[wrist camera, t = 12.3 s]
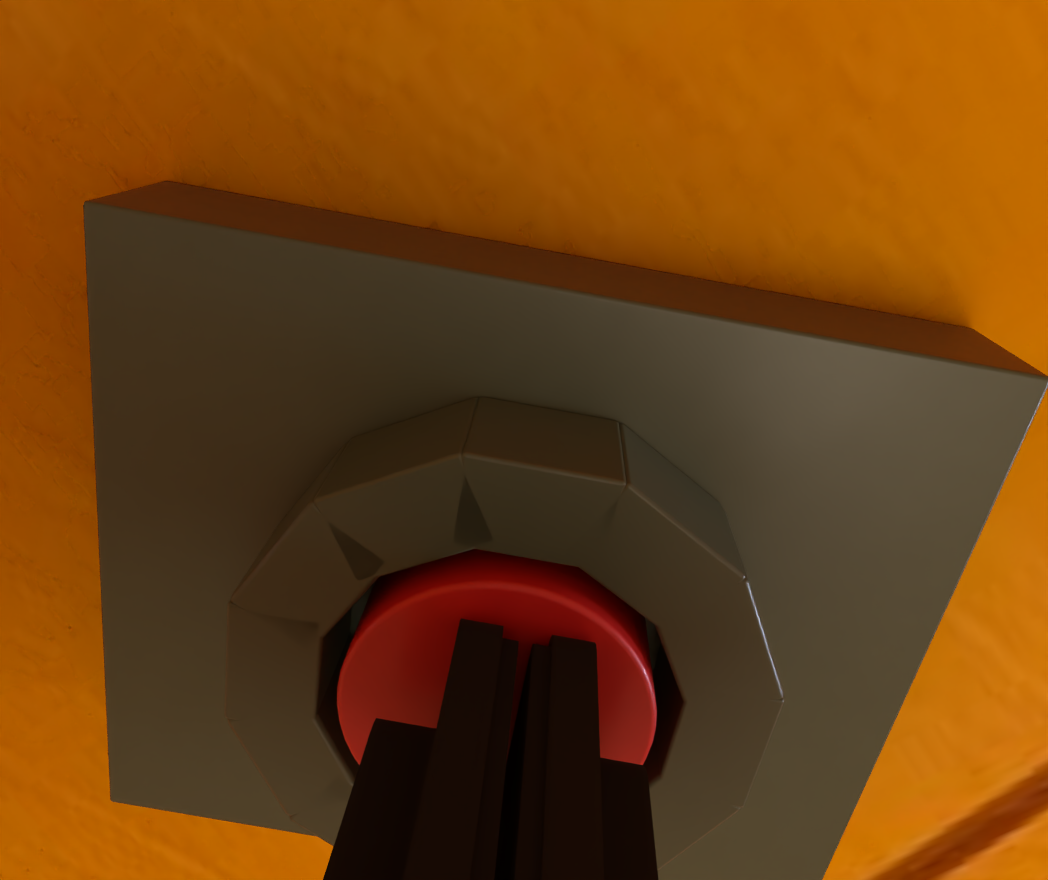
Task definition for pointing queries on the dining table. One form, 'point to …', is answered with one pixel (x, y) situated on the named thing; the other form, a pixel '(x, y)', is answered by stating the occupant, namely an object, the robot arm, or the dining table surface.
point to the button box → (518, 500)
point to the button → (527, 616)
